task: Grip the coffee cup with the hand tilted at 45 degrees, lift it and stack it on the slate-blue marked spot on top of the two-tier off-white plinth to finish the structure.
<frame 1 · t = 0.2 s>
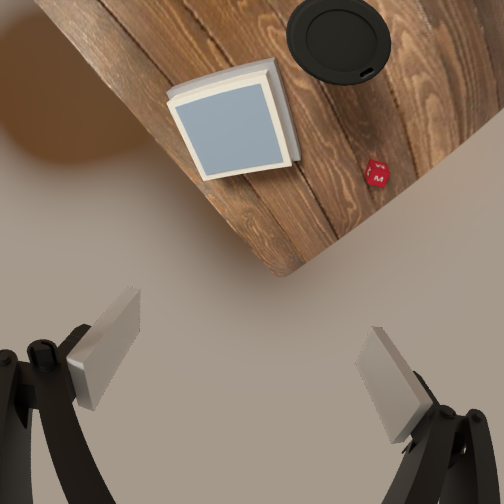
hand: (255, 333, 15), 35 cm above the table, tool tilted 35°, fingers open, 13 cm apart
red letter cube: (375, 167, 44), on the table
coffee cup: (327, 28, 28), on the table
plinth: (238, 116, 41), on the table
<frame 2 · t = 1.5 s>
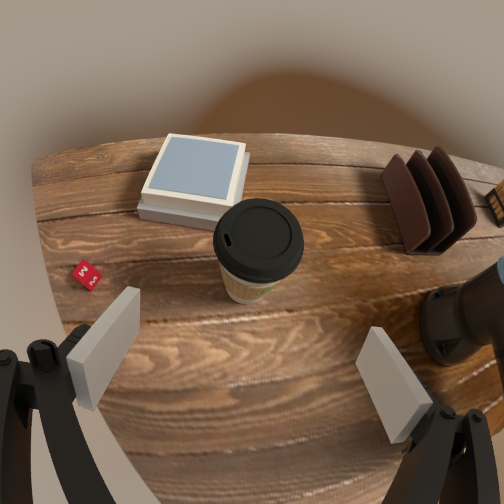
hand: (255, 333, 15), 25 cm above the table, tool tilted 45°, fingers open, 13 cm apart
red letter cube: (91, 279, 40), on the table
coffee cup: (246, 284, 43), on the table
plinth: (197, 188, 50), on the table
ammunition clip: (492, 212, 61), on the table
letter holder: (410, 214, 54), on the table
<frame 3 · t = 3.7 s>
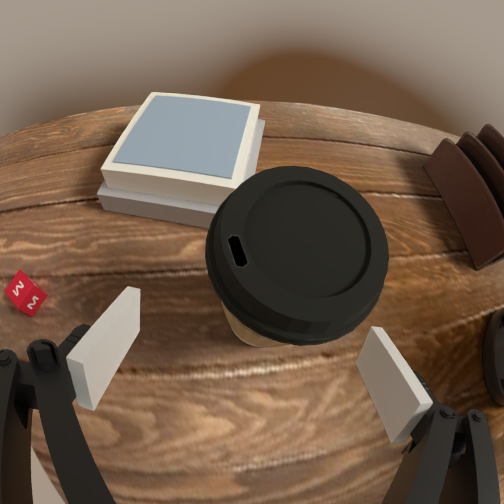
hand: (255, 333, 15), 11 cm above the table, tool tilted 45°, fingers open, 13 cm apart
red letter cube: (33, 298, 24), on the table
coffee cup: (260, 315, 27), on the table
plinth: (188, 167, 34), on the table
letter holder: (464, 213, 38), on the table
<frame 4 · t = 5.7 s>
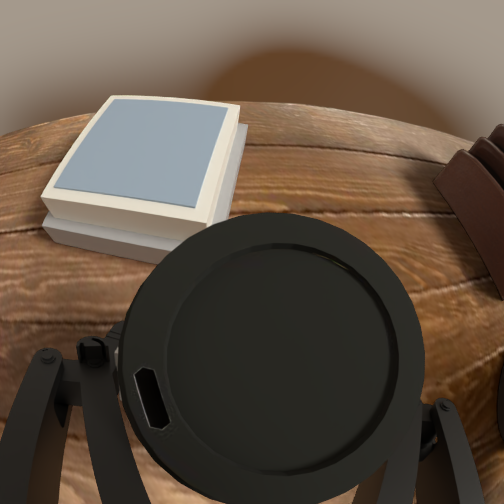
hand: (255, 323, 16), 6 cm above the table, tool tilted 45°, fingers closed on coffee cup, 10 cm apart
coffee cup: (238, 379, 20), on the table, touching gripper
plinth: (153, 186, 27), on the table
letter holder: (481, 231, 32), on the table
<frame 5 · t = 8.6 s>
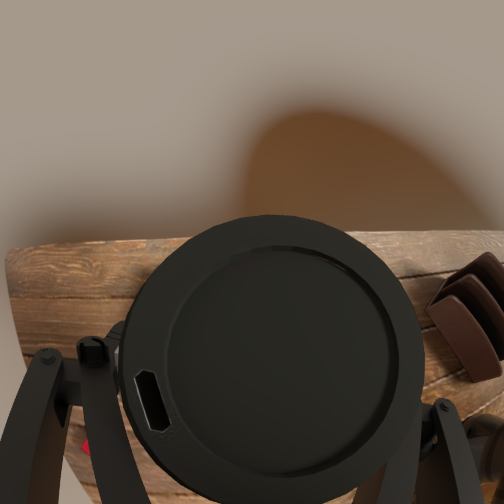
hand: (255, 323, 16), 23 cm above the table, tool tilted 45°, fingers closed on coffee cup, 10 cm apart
red letter cube: (102, 444, 28), on the table
coffee cup: (238, 380, 20), point 17 cm above the table, touching gripper
letter holder: (460, 331, 42), on the table
when the fingers open (13 cm above the table, at t = 11.4 s): coffee cup drops 1 cm, resting on plinth.
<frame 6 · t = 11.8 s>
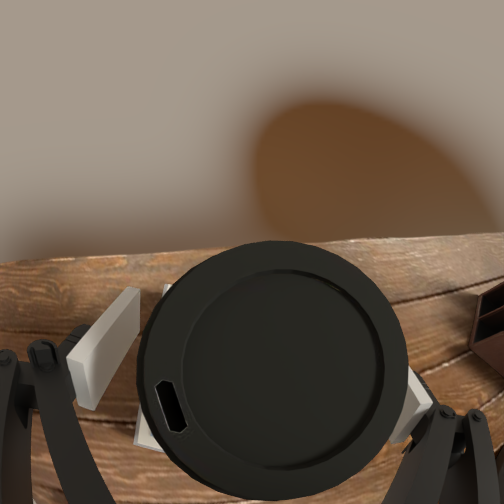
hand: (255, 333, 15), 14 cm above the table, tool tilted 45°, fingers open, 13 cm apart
coffee cup: (239, 383, 21), point 6 cm above the table, touching plinth
plinth: (231, 382, 27), on the table
letter holder: (501, 347, 32), on the table
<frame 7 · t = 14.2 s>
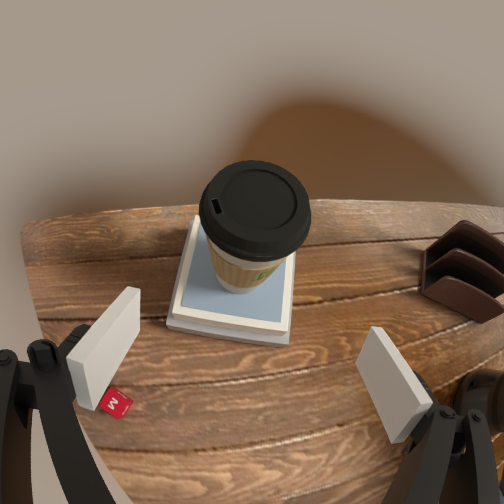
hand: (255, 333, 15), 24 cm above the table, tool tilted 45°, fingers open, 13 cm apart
red letter cube: (120, 403, 32), on the table
coffee cup: (240, 271, 37), point 6 cm above the table, touching plinth
plinth: (234, 286, 42), on the table
letter holder: (454, 289, 48), on the table
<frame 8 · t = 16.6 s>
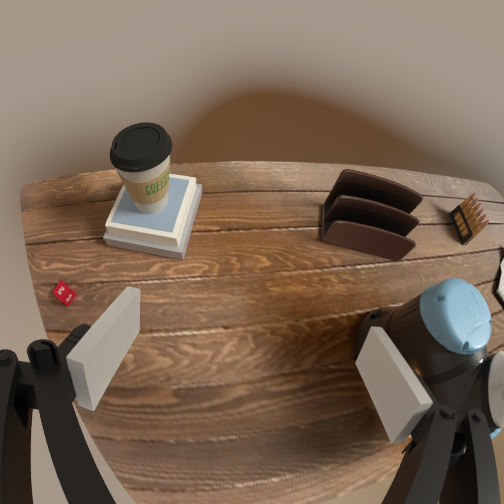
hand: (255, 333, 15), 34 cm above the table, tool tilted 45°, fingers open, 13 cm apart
red letter cube: (68, 296, 46), on the table
coffee cup: (151, 201, 51), point 6 cm above the table, touching plinth
plinth: (155, 218, 56), on the table
ammunition clip: (457, 229, 69), on the table
letter holder: (361, 234, 62), on the table
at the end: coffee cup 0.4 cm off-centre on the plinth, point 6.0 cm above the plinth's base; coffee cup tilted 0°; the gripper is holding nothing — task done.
